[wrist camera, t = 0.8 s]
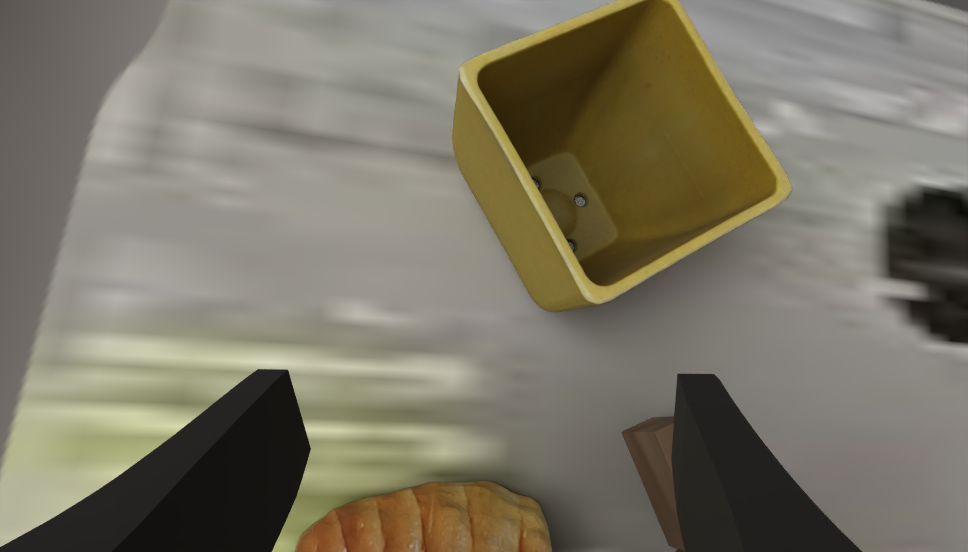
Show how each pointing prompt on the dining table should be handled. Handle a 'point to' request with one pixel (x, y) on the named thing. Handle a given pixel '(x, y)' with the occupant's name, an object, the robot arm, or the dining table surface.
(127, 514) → the robot arm
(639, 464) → the holder
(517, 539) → the pastry
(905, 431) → the dining table surface
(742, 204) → the flower pot
